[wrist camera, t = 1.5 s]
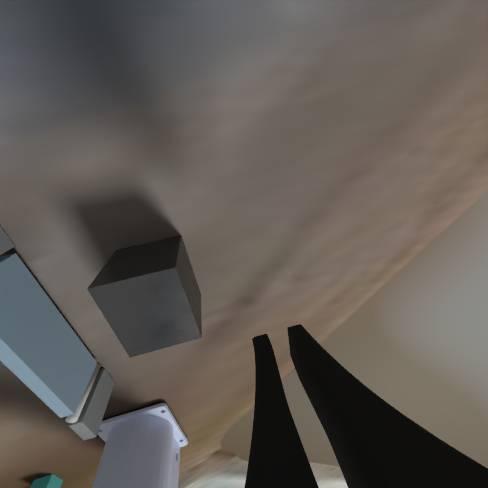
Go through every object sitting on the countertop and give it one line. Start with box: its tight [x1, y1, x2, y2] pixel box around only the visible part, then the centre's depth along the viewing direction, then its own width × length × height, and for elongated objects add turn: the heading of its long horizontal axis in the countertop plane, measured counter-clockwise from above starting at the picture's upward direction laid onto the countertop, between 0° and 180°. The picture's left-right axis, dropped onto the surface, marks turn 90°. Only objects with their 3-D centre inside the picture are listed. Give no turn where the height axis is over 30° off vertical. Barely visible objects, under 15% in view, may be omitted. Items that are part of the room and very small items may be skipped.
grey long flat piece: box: [0, 226, 115, 440], centre depth 16 cm, size 19×1×5 cm, turn 10°
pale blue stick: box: [0, 253, 97, 418], centre depth 16 cm, size 12×1×4 cm, turn 10°
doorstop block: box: [88, 236, 202, 357], centre depth 16 cm, size 6×5×5 cm
